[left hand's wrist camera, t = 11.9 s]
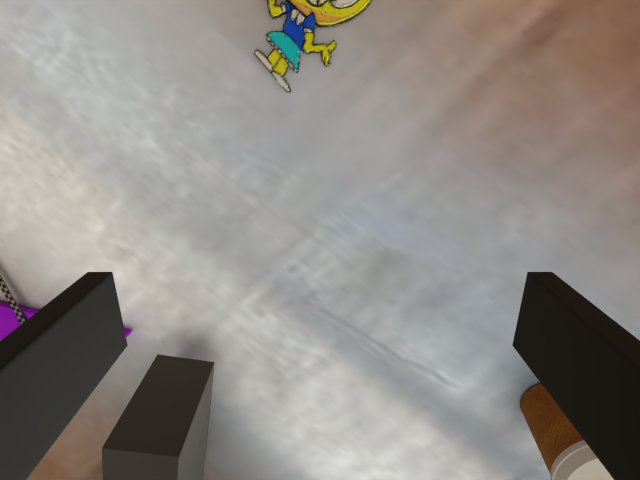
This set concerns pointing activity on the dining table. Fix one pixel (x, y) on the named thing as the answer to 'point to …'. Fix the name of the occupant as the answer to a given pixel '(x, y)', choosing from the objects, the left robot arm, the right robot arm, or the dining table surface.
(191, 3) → the dining table surface
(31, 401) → the left robot arm
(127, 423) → the box
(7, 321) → the musical instrument
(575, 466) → the disposable coffee cup
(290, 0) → the toy
